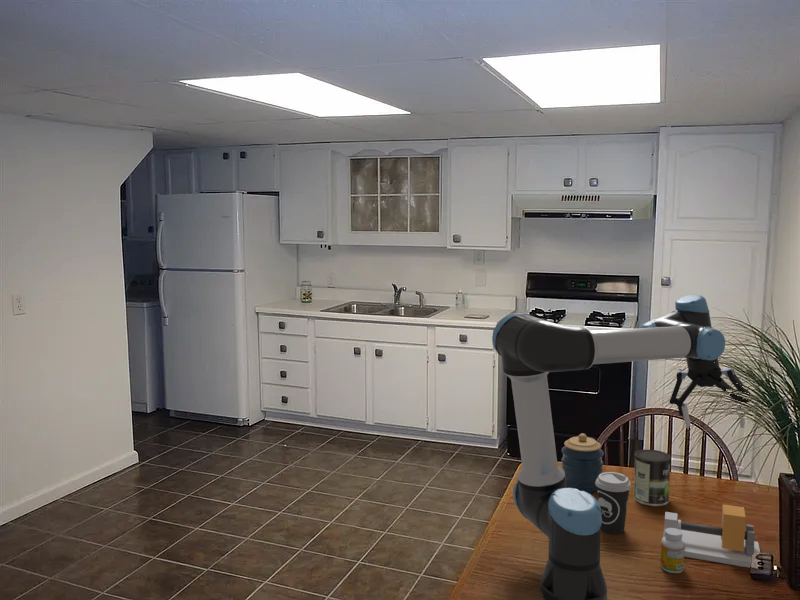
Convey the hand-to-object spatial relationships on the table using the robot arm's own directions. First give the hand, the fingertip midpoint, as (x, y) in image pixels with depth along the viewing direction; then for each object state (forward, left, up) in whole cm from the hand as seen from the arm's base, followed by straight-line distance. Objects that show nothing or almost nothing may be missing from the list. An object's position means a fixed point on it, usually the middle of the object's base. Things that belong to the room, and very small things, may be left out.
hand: (715, 425), depth 184 cm
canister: (+19, +37, -31) cm, 51 cm away
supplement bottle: (-23, +9, -31) cm, 40 cm away
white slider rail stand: (-10, 0, -30) cm, 32 cm away
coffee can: (+17, +16, -31) cm, 38 cm away
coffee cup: (-7, +25, -31) cm, 40 cm away
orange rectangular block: (-10, -5, -28) cm, 30 cm away
